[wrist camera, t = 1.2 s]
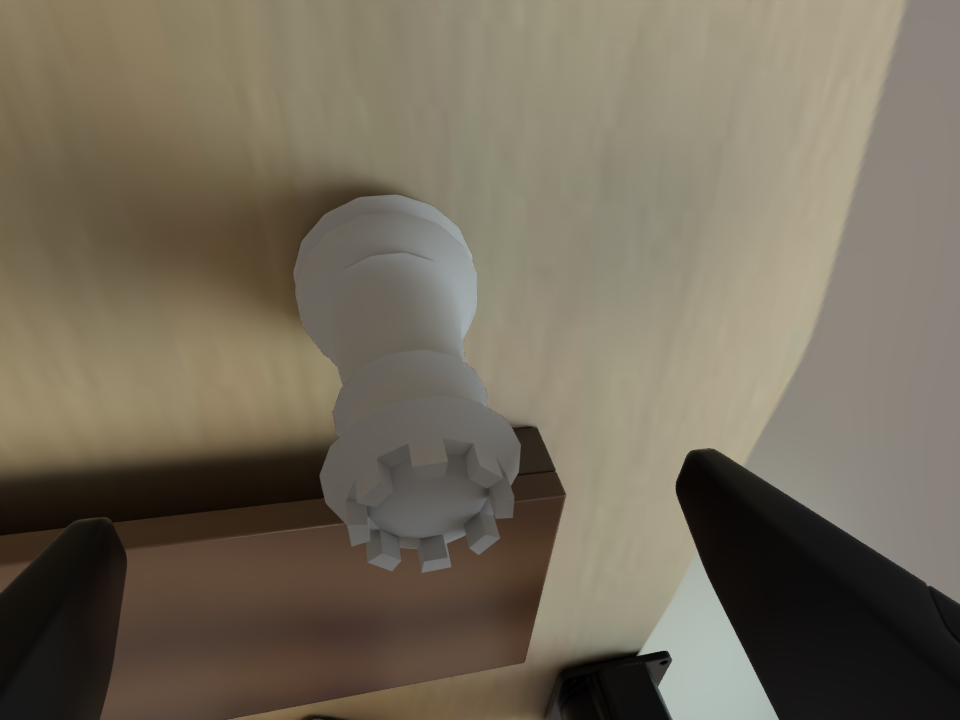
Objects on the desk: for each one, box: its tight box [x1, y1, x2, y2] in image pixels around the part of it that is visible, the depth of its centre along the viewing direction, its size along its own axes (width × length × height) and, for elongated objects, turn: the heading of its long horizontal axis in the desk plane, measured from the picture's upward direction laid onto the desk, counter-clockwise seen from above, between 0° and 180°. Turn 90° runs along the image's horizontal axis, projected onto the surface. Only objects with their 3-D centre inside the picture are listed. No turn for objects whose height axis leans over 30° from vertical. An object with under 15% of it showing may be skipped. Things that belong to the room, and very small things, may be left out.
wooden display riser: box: [0, 427, 566, 720], centre depth 19 cm, size 10×20×3 cm, turn 85°
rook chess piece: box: [293, 194, 521, 573], centre depth 12 cm, size 4×4×8 cm
